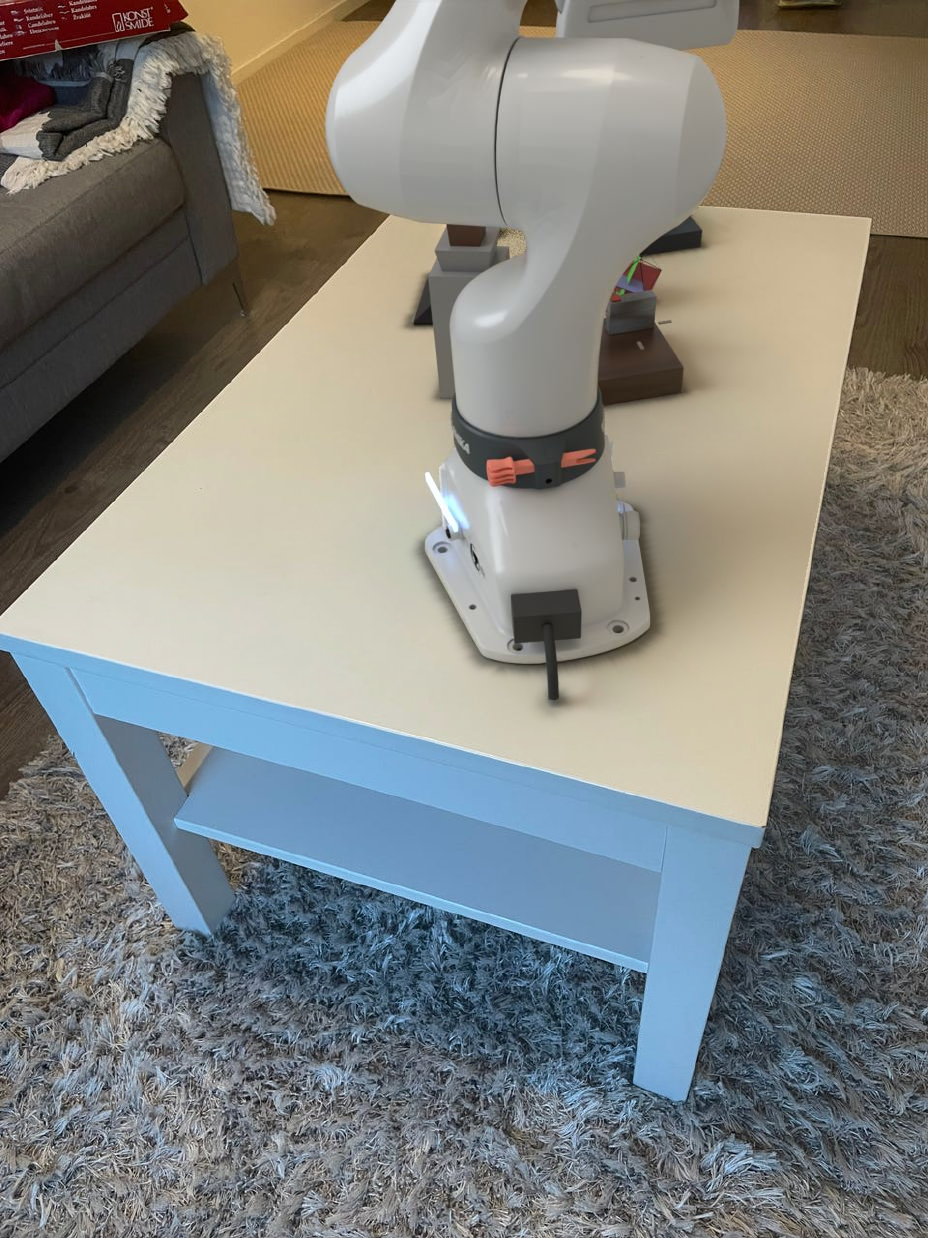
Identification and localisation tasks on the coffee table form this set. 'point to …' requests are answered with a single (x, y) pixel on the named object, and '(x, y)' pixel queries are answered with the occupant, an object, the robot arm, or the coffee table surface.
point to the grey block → (630, 312)
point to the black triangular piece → (424, 309)
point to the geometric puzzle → (637, 277)
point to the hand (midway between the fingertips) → (642, 96)
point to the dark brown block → (637, 366)
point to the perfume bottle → (457, 284)
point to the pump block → (677, 238)
